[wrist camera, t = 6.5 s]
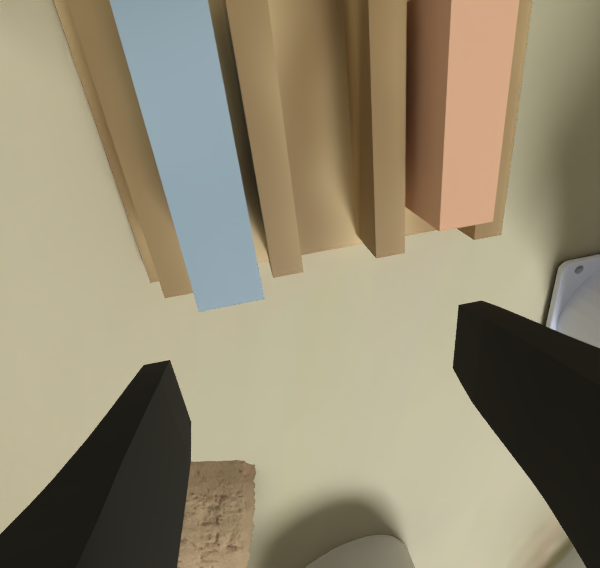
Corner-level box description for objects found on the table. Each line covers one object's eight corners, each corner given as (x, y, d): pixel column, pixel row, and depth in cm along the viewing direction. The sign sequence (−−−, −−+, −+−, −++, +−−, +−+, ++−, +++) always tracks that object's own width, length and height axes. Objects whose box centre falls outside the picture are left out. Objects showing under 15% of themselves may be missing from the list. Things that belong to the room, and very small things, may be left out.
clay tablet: (87, 447, 23) (72, 489, 21) (260, 442, 25) (264, 479, 23) (103, 584, 30) (92, 628, 27) (240, 570, 32) (241, 610, 29)
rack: (505, -70, 15) (580, -108, 12) (477, 215, 20) (523, 241, 17) (54, -20, 13) (3, -49, 10) (152, 274, 18) (139, 314, 15)
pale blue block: (209, 12, 14) (202, -26, 8) (251, 231, 17) (264, 299, 12) (150, 20, 13) (105, -15, 8) (205, 239, 17) (198, 311, 12)
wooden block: (441, 2, 15) (522, -24, 11) (433, 189, 18) (493, 221, 14) (389, 8, 14) (452, -16, 11) (391, 196, 18) (439, 231, 14)
